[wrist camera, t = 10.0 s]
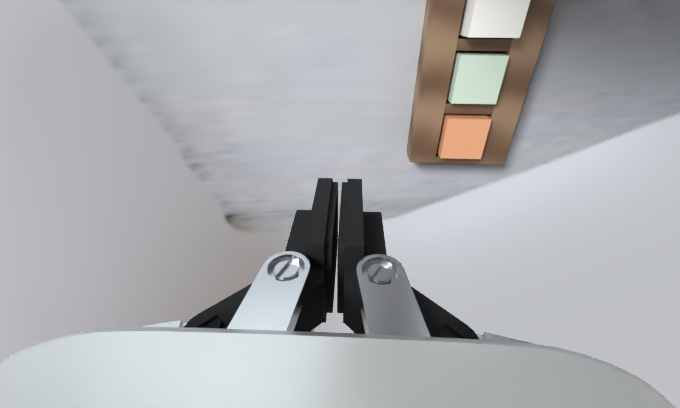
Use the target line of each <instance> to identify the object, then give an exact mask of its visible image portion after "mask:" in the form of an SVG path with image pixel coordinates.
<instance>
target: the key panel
mask: <svg viewBox="0 0 680 408" xmlns="http://www.w3.org/2000/svg"><path fill="white" fill-rule="evenodd" d="M555 2H556V0H530V4H529V7H528V11H527V14H526V18H525V21H524V25H523V28H522V32H521V35H520V38H477V37H465V36H462V35H459V31H460V26H461V21H462V15H463V10H464V5H465V0H427V2H426V10H425V17H424V25H423V32H422V40H421V48H420V55H419V63H418V70H417V78H416V85H415V93H414V100H413V108H412V115H411V123H410V130H409V138H408V146H407V155H408V157H409V160H410V162H424V163H467V164H504V161H505V158H506V155H507V152H508V149H509V146H510V142H511V139H512V136H513V133H514V130H515V127H516V124H517V121H518V118H519V114H520V111H521V108H522V105H523V102H524V99H525V96H526V93H527V90H528V86H529V83H530V80H531V77H532V74H533V71H534V68H535V65H536V62H537V58H538V55H539V52H540V49H541V46H542V43H543V40H544V37H545V34H546V30H547V27H548V24H549V21H550V18H551V15H552V12H553V9H554V6H555ZM456 51H485V52H500V53H503V54H506V55H509V59H508V62H507V66H506V70H505V73H504V77H503V81H502V84H501V88H500V91H499V95H498V99H497V102H496V104H451V103H450V102H449V101H448V100H447V94H448V89H449V84H450V78H451V73H452V68H453V63H454V57H455V52H456ZM444 113H449V114H486V115H487V116H488V117H489V118H490V119H492V120H491V124H490V128H489V131H488V135H487V139H486V142H485V146H484V150H483V153H482V157H481V159H451V158H440V157H439V155H438V153H437V147H438V142H439V137H440V131H441V126H442V121H443V116H444Z"/></svg>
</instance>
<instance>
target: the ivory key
mask: <svg viewBox="0 0 680 408" xmlns="http://www.w3.org/2000/svg"><path fill="white" fill-rule="evenodd" d="M529 4H530V0H465V5H464V10H463V15H462V21H461V26H460V31H459V35H462V36H465V37H477V38H520V35H521V32H522V28H523V25H524V21H525V18H526V14H527V11H528V7H529Z"/></svg>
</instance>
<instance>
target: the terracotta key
mask: <svg viewBox="0 0 680 408" xmlns="http://www.w3.org/2000/svg"><path fill="white" fill-rule="evenodd" d="M491 120H492V119H490V118H489V117H488V116H487V115H486V114H449V113H444V116H443V121H442V126H441V131H440V137H439V142H438V147H437V153H438V155H439V157H440V158H451V159H481V157H482V153H483V150H484V146H485V142H486V139H487V135H488V131H489V128H490V124H491Z"/></svg>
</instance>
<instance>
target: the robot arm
mask: <svg viewBox="0 0 680 408" xmlns="http://www.w3.org/2000/svg"><path fill="white" fill-rule="evenodd" d="M337 243H338V294H337V297H338V298H337V301H338V303H337V312H338V313H343V322H344V323H345V324H346V325H347V326H348V327H349V328H350V329H351V330H353V334H352V333H327V332H314V328H315V327H317V326H318V325H319V324H321V323H322V322H326V314H327V313H332V312H333V299H334V285H335V272H336V257H337ZM0 408H676V407H674V406H673V405H672V404H671V403H670V402H669V401H668V400H667V399H666V398H665V397H664V396H663V395H662V394H660V393H659V392H658V391H657V390H656V389H654V388H653V387H652V386H651V385H649V384H648V383H646V382H645V381H643V380H641V379H640V378H639V377H637V376H635V375H633V374H631V373H629V372H627V371H625V370H623V369H621V368H619V367H617V366H614V365H612V364H610V363H607V362H604V361H601V360H598V359H595V358H592V357H590V356H587V355H584V354H580V353H576V352H573V351H569V350H565V349H561V348H555V347H550V346H544V345H537V344H533V343H529V342H524V341H520V340H516V339H512V338H507V337H503V336H499V335H495V334H491V333H486V332H484V334H483V336H482V335H478V334H475V332H474V331H473V330H472V329H471V328H470V327H469V326H467V325H466V324H465V323H463V322H462V321H460V320H459V319H458V318H456V317H455V316H453V315H451V314H450V313H449V312H447V311H446V310H445V309H443V308H442V307H440V306H438V305H437V304H436V303H434V302H433V301H431V300H430V299H429V298H427V297H426V296H424V295H423V294H421V293H420V292H418V291H417V290H415V289H414V288H413V287H411V285H410V283H409V280H408V278H407V275H406V273H405V270H404V268H403V266H402V265H401V263H400V262H398V261H397V260H396V259H394V258H392V257H390V256H387V255H386V247H385V239H384V231H383V223H382V215H381V212H363V201H362V179H348V182H342V192H341V206H340V220H339V235H338V182H333V179H332V178H318V183H317V187H316V192H315V197H314V202H313V207H312V210H297V211H296V215H295V218H294V222H293V225H292V229H291V232H290V236H289V239H288V243H287V247H286V250H285V252H280V253H277V254H275V255H272V256H271V257H270V258H268V259H267V260H266V262H265V263H264V264H263V266H262V268H261V269H260V271H259V273H258V275H257V276H256V278H255V280H254V282H253V283H252V284H250V285H248V286H247V287H245V288H243V289H241V290H240V291H238V292H236V293H234V294H233V295H231V296H229V297H227V298H226V299H224V300H222V301H220V302H219V303H217V304H215V305H213V306H212V307H210V308H208V309H206V310H205V311H203V312H201V313H199V314H197V315H196V316H195V317H193V318H192V319H191V320H190V321H189V322H188V323H184V324H182V321H181V320H178V321H172V322H166V323H159V324H153V325H147V326H140V327H116V328H105V329H95V330H89V331H83V332H77V333H72V334H68V335H64V336H60V337H56V338H53V339H49V340H46V341H43V342H40V343H37V344H34V345H32V346H30V347H27V348H25V349H22V350H20V351H18V352H17V353H15V354H13V355H11V356H9V357H7V358H6V359H4V360H3V361H1V362H0Z"/></svg>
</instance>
